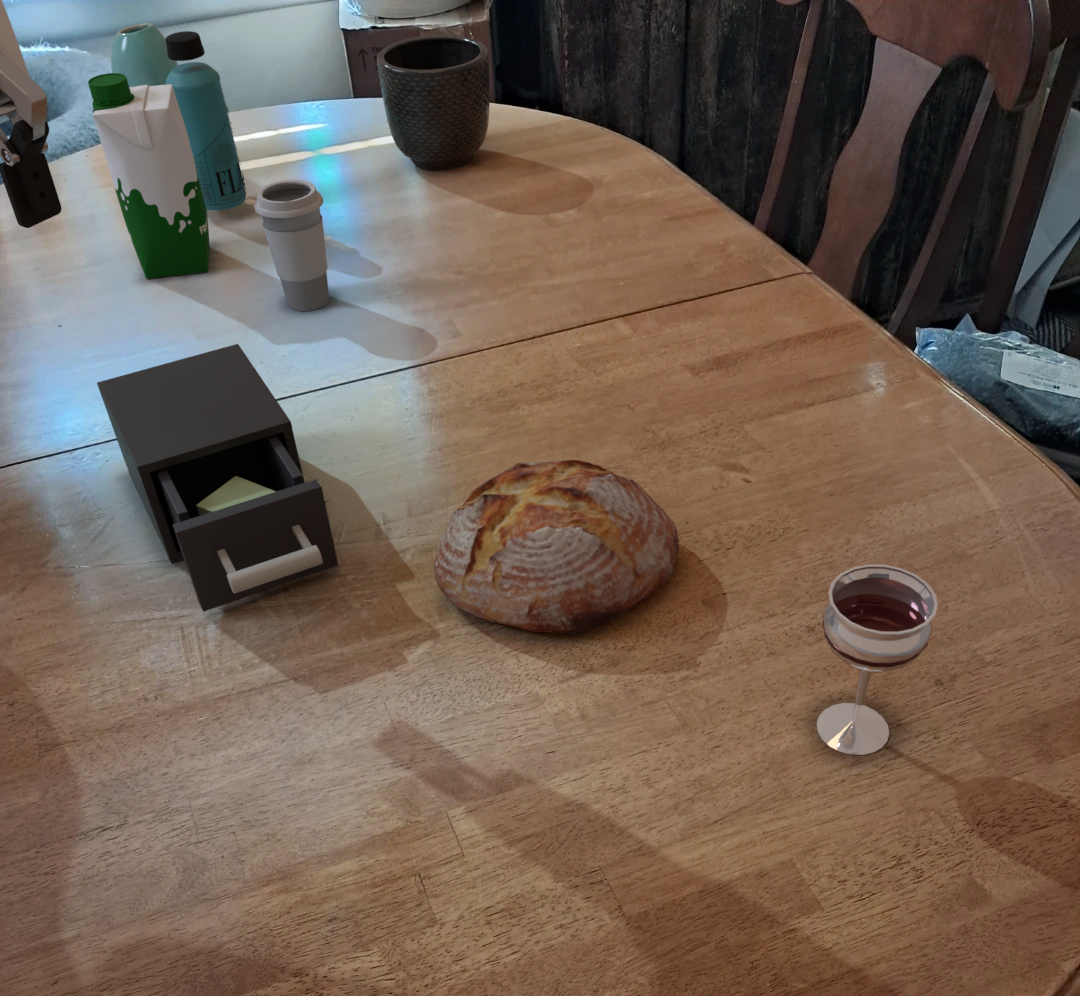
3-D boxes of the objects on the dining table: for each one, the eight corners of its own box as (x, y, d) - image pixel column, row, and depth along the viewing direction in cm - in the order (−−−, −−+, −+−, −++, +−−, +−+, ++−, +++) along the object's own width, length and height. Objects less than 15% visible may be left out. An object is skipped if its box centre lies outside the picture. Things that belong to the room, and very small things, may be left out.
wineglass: (903, 700, 82) (938, 570, 73) (901, 771, 78) (939, 641, 69) (807, 688, 83) (830, 558, 75) (800, 757, 79) (824, 627, 70)
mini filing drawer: (359, 598, 91) (343, 519, 85) (220, 648, 88) (193, 568, 82) (286, 482, 102) (267, 404, 97) (160, 521, 99) (133, 444, 93)
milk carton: (143, 250, 138) (88, 68, 124) (219, 242, 139) (173, 59, 124) (137, 284, 132) (79, 96, 118) (217, 275, 133) (169, 87, 118)
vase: (113, 178, 154) (68, 28, 140) (189, 153, 159) (151, 5, 146) (157, 203, 147) (114, 48, 134) (234, 175, 153) (199, 23, 140)
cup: (277, 319, 125) (252, 208, 116) (274, 291, 129) (250, 182, 121) (343, 310, 126) (323, 199, 117) (337, 283, 130) (318, 174, 121)
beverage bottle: (226, 227, 142) (182, 47, 127) (187, 216, 144) (140, 39, 130) (262, 207, 145) (223, 29, 131) (223, 197, 148) (182, 22, 133)
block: (210, 550, 94) (195, 505, 91) (248, 521, 97) (235, 475, 93) (251, 568, 92) (238, 522, 89) (289, 538, 95) (278, 491, 92)
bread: (411, 563, 97) (392, 458, 90) (619, 496, 102) (616, 392, 95) (486, 675, 86) (471, 566, 79) (715, 594, 91) (720, 484, 84)
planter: (516, 156, 153) (510, 48, 144) (440, 190, 147) (428, 79, 137) (444, 131, 160) (435, 27, 151) (368, 163, 153) (353, 56, 144)
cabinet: (312, 517, 100) (290, 421, 93) (171, 563, 97) (136, 467, 90) (261, 436, 109) (237, 343, 102) (130, 476, 106) (96, 382, 99)
